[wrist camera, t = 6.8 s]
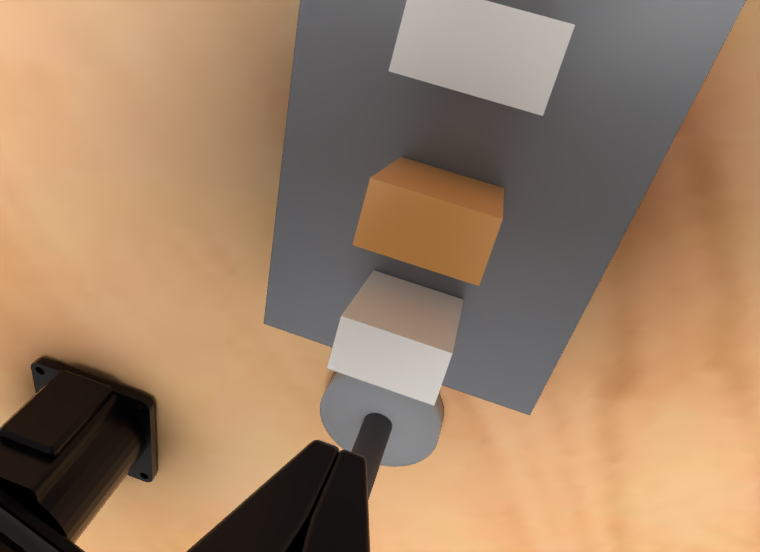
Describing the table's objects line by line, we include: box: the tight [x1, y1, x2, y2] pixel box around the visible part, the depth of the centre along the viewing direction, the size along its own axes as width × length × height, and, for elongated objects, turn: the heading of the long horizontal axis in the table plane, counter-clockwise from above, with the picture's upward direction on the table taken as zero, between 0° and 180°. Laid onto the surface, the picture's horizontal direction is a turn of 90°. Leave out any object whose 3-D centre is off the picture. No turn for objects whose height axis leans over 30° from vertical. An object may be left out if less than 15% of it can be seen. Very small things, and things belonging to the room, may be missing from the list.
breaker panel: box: [264, 0, 746, 415], centre depth 18 cm, size 14×10×2 cm
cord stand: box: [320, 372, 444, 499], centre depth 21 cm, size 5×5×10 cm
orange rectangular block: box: [353, 157, 504, 286], centre depth 15 cm, size 2×3×4 cm, turn 77°
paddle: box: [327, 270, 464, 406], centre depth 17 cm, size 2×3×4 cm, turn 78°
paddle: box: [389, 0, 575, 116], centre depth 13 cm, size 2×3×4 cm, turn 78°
